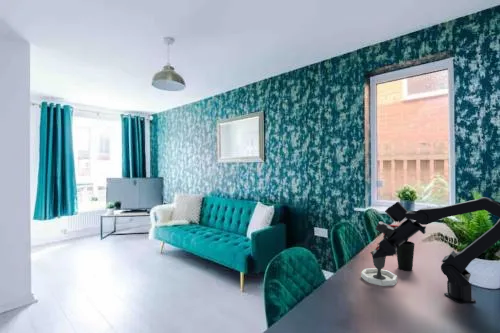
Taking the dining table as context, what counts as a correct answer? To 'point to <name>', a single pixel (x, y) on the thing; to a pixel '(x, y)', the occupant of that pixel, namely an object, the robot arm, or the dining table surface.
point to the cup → (405, 256)
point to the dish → (389, 281)
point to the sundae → (378, 264)
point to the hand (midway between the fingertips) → (374, 254)
